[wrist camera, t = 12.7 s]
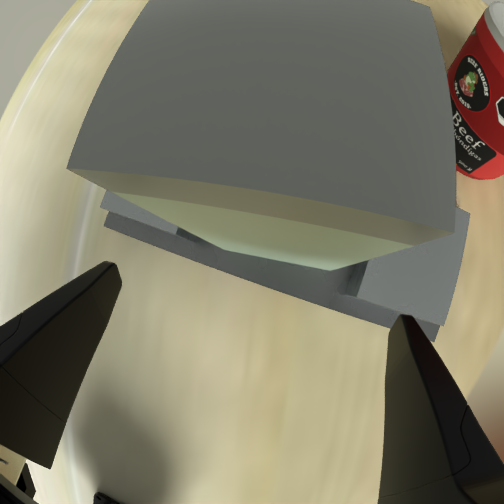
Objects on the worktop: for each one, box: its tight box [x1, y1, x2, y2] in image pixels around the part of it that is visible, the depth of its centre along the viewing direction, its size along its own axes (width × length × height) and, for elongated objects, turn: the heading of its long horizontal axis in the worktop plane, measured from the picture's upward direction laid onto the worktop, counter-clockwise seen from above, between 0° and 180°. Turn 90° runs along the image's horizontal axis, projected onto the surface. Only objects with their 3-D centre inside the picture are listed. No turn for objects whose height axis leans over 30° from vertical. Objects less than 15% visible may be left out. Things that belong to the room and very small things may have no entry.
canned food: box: [446, 2, 504, 180], centre depth 11 cm, size 8×8×11 cm
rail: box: [100, 190, 470, 342], centre depth 16 cm, size 8×22×4 cm, turn 71°
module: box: [66, 0, 456, 271], centre depth 10 cm, size 5×6×13 cm
